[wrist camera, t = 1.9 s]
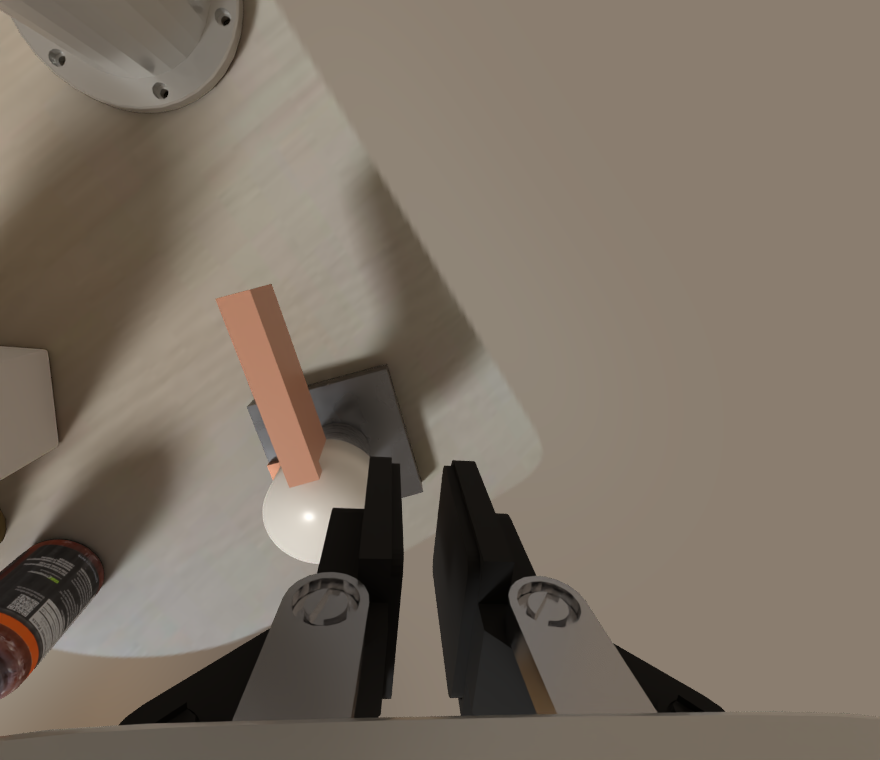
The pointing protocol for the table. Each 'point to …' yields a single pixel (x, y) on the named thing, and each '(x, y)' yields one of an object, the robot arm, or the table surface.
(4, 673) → the supplement bottle
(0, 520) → the olive pear
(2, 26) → the table surface
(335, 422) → the coupling base
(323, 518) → the orange bar with ball
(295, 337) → the table surface
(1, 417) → the milk carton
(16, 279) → the table surface
